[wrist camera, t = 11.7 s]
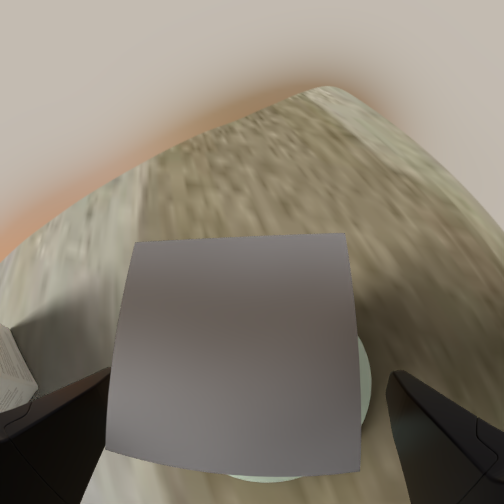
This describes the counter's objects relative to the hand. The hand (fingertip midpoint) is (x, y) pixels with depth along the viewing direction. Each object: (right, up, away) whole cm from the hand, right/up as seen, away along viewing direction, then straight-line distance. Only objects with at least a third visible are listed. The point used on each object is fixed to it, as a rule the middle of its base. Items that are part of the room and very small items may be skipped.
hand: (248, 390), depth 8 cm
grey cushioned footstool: (+1, -3, +7) cm, 8 cm away
